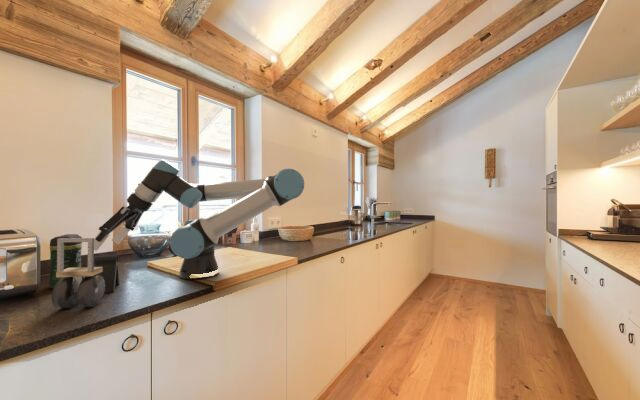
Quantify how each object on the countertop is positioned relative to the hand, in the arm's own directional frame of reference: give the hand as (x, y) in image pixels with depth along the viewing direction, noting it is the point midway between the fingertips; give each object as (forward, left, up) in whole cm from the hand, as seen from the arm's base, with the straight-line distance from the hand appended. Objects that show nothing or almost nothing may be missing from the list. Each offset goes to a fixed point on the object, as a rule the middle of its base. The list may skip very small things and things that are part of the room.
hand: (104, 245), depth 98 cm
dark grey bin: (-2, +2, -16) cm, 16 cm away
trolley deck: (-3, +18, -6) cm, 19 cm away
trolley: (-3, +18, -15) cm, 23 cm away
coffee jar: (+15, -5, -16) cm, 22 cm away
